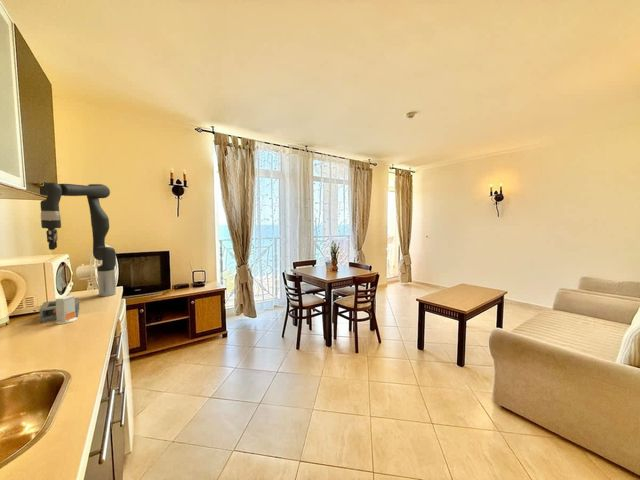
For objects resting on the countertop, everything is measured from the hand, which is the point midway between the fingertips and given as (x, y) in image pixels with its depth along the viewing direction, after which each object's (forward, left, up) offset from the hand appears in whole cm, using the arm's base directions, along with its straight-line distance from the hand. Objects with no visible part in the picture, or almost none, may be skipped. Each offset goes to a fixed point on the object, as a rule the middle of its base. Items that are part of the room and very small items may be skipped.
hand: (53, 248), depth 143 cm
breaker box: (+8, +2, -36) cm, 37 cm away
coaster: (+20, +5, -36) cm, 42 cm away
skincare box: (+20, +5, -36) cm, 41 cm away
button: (+8, +2, -36) cm, 37 cm away
